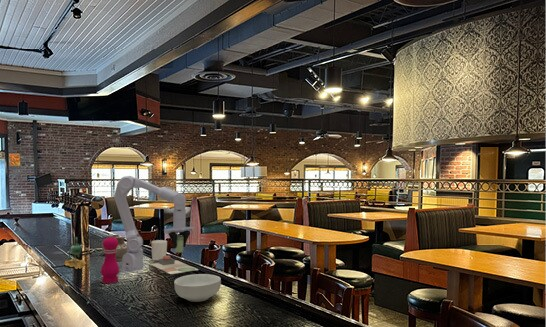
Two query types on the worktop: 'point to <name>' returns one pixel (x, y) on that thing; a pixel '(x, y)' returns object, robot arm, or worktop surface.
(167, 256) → the button
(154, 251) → the white cup
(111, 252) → the pepper mill
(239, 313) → the worktop surface
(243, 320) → the worktop surface
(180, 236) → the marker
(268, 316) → the worktop surface
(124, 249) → the pottery
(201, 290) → the cereal bowl
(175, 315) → the worktop surface
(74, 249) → the frog figurine
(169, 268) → the picture board
